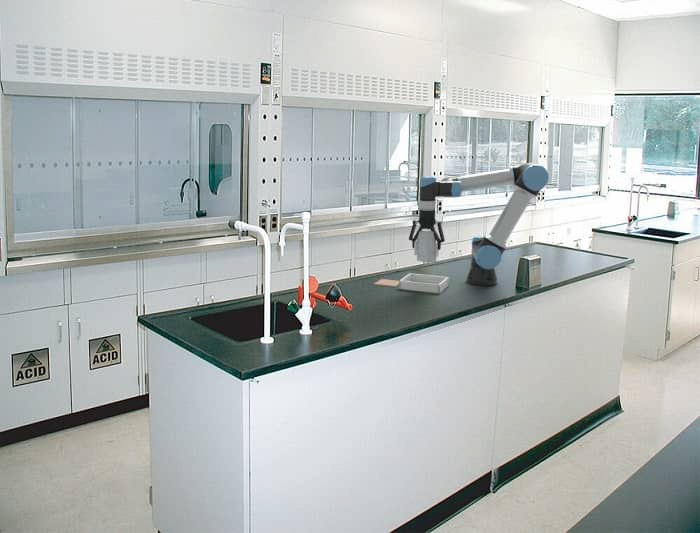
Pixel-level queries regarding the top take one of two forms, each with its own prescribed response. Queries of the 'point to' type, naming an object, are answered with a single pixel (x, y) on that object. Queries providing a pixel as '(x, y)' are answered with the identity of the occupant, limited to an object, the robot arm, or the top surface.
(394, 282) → the tile
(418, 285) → the bin
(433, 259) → the skincare box
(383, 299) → the top surface
